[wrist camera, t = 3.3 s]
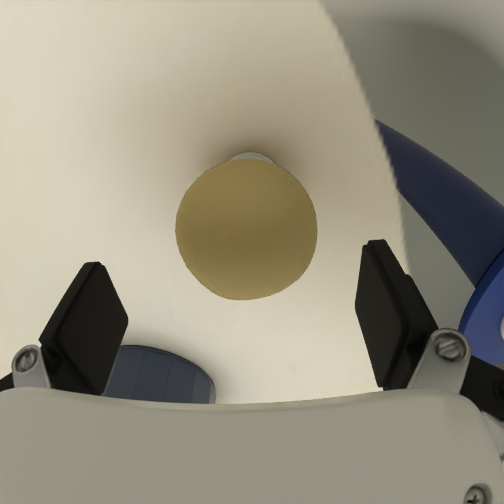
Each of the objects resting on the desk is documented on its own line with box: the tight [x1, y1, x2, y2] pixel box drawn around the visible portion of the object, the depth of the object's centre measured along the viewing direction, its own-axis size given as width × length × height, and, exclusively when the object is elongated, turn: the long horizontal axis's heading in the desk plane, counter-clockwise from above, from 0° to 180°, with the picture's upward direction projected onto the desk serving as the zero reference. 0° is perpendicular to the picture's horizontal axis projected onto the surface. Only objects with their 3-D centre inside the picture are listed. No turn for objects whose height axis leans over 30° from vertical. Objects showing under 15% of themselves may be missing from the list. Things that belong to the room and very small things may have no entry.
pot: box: [100, 345, 216, 404], centre depth 30 cm, size 15×15×10 cm
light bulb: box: [175, 152, 317, 300], centre depth 16 cm, size 6×6×10 cm
